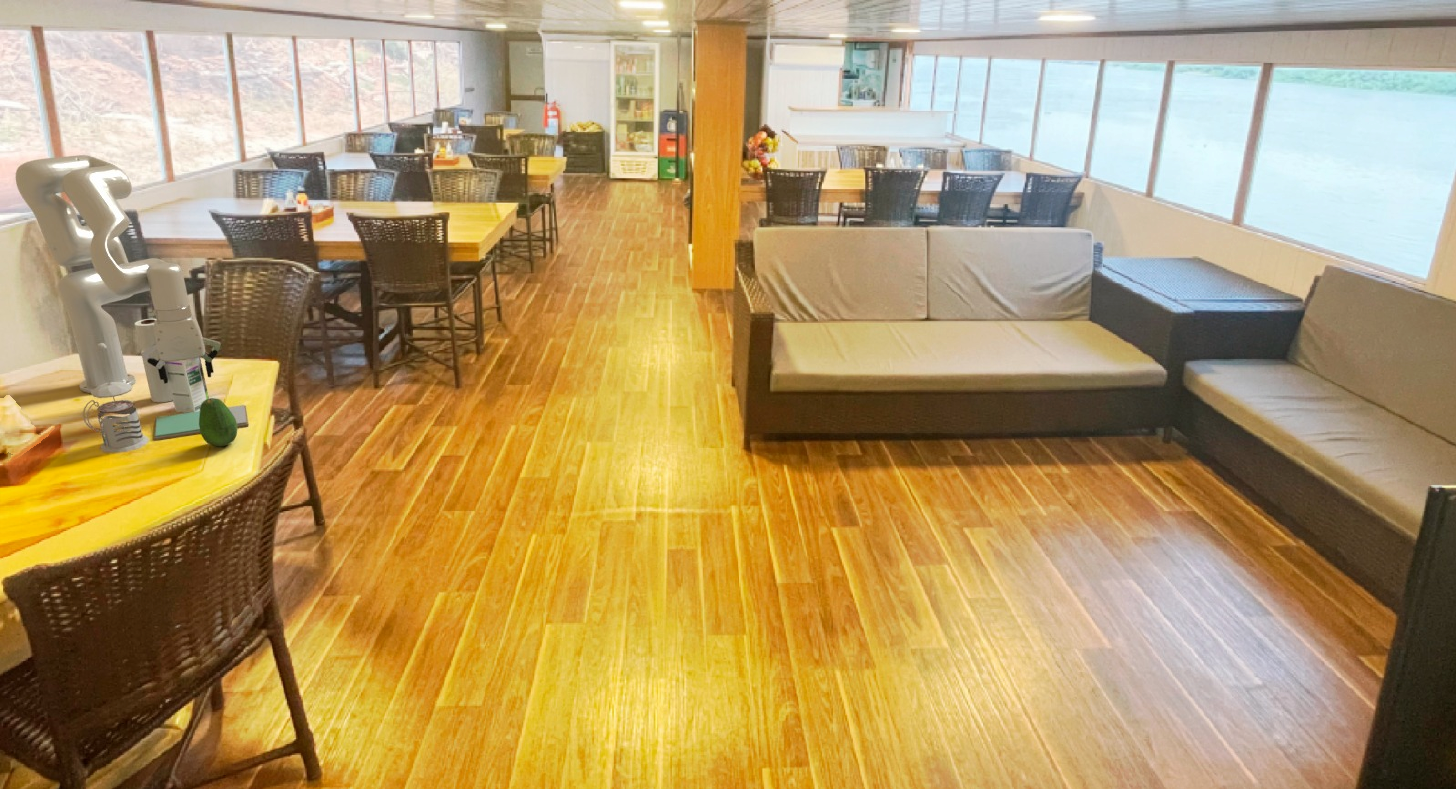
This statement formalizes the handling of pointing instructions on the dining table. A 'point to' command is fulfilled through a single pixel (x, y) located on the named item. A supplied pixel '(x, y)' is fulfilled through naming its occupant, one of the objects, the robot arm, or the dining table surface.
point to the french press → (113, 438)
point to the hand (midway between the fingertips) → (188, 378)
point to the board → (191, 423)
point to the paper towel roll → (156, 386)
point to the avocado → (217, 423)
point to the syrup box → (187, 384)
